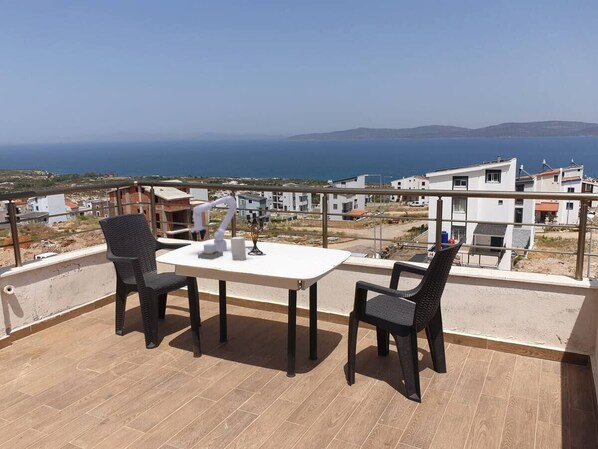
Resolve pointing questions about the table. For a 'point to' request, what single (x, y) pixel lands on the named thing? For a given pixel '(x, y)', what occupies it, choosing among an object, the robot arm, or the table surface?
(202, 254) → the walnut block
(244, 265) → the table surface
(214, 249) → the carton
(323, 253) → the table surface
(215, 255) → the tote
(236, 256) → the skincare box
